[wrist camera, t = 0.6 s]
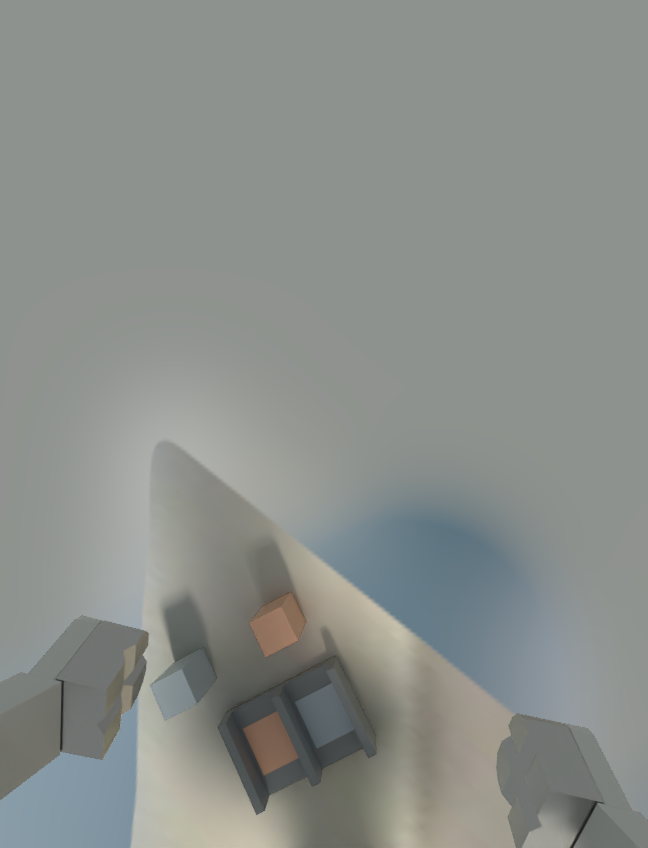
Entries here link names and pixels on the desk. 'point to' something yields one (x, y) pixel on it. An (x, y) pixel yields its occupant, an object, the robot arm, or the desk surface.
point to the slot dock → (296, 731)
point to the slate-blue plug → (183, 683)
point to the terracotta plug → (278, 624)
